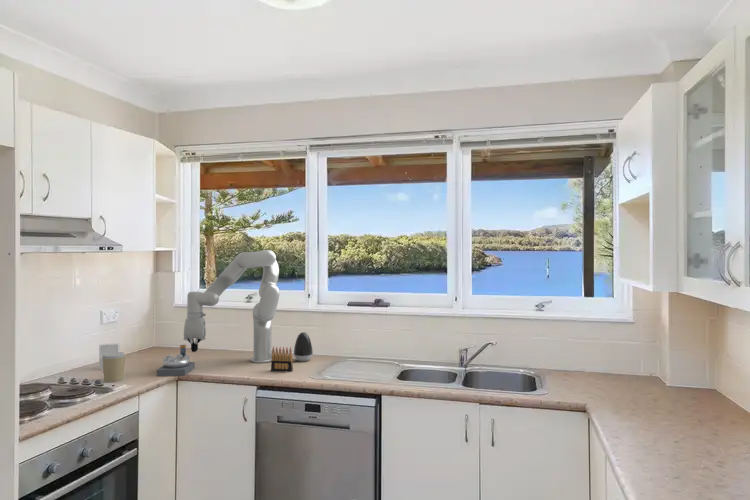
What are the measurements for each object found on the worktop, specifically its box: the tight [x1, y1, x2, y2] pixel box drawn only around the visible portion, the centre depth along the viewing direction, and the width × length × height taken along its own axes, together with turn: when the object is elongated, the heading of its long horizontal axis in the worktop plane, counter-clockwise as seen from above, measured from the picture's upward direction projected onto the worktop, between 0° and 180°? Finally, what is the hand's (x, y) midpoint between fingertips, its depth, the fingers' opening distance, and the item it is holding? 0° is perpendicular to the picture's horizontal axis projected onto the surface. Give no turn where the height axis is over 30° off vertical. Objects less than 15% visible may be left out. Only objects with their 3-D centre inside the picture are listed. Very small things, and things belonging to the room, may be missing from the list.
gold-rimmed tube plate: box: [162, 344, 190, 368], centre depth 244 cm, size 18×12×8 cm, turn 5°
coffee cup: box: [102, 351, 126, 383], centre depth 225 cm, size 9×9×12 cm
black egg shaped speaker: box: [293, 331, 314, 362], centre depth 267 cm, size 10×10×15 cm
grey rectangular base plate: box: [156, 361, 196, 377], centre depth 241 cm, size 13×16×3 cm
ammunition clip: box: [270, 346, 294, 373], centre depth 243 cm, size 11×2×12 cm, turn 82°
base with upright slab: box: [98, 342, 120, 371], centre depth 249 cm, size 9×9×12 cm
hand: (194, 351), depth 252 cm, fingers closed
